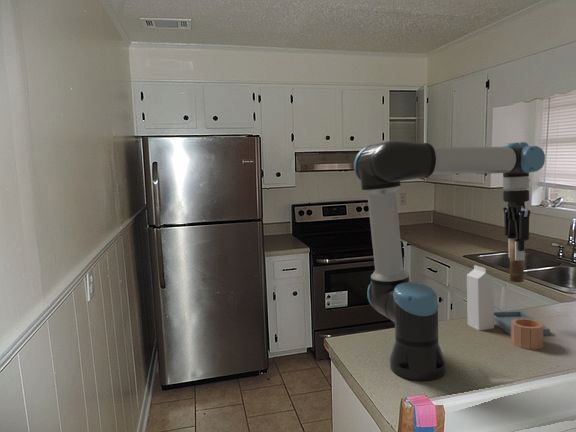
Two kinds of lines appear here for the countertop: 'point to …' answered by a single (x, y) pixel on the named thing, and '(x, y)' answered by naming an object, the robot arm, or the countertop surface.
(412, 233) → the countertop surface
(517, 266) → the baguette
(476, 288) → the milk
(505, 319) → the tray
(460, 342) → the countertop surface
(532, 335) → the cup
